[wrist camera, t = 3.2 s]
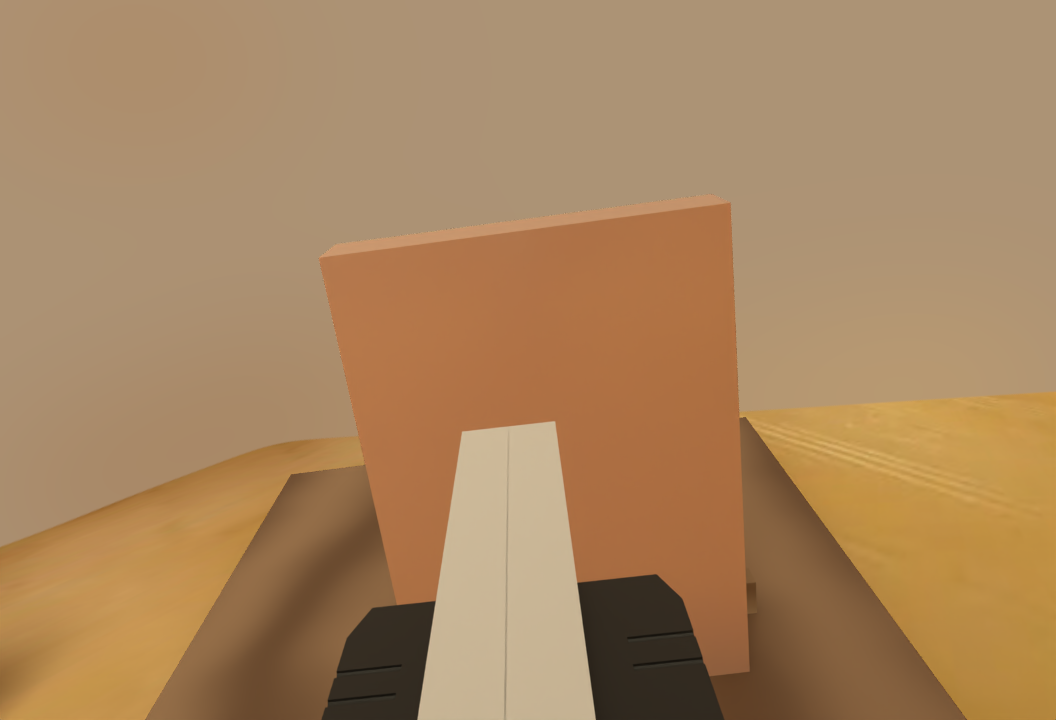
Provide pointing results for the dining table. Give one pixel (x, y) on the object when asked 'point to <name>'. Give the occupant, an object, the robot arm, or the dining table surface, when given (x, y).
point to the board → (364, 583)
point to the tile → (561, 389)
